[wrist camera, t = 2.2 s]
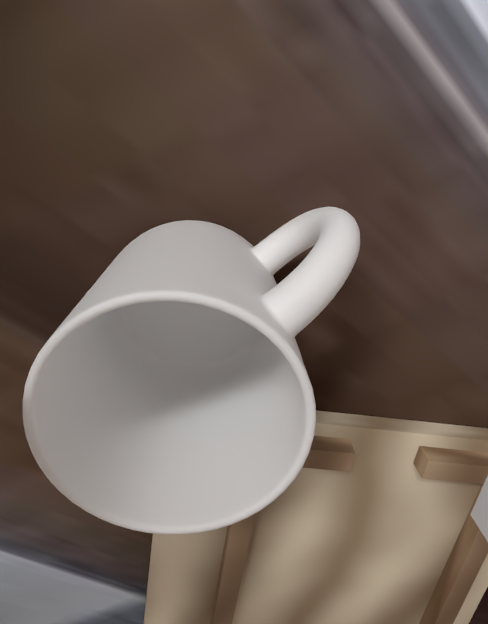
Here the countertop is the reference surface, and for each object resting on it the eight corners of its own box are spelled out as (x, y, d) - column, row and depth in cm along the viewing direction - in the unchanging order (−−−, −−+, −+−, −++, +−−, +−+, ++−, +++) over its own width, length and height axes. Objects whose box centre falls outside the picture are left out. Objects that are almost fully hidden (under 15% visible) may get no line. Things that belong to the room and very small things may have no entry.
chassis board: (143, 635, 32) (137, 673, 29) (168, 394, 24) (163, 421, 22) (438, 651, 34) (453, 687, 32) (544, 434, 26) (573, 462, 24)
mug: (267, 121, 19) (311, 114, 10) (371, 264, 22) (484, 369, 12) (72, 289, 22) (-45, 416, 12) (186, 399, 24) (163, 574, 15)
